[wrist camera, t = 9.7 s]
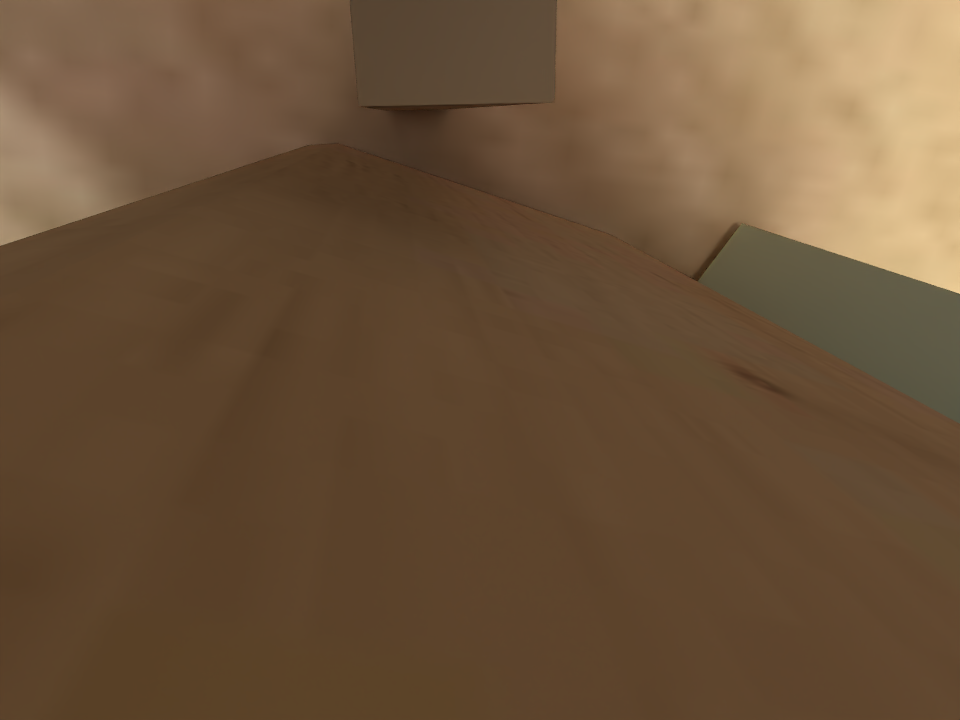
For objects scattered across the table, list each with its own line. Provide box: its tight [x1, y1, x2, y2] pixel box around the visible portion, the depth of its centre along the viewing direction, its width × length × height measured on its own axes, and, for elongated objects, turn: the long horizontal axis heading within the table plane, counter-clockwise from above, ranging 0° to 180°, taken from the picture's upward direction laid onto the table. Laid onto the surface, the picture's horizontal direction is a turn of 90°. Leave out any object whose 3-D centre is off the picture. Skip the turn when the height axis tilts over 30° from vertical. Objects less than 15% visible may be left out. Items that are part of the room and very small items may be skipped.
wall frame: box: [350, 0, 557, 110], centre depth 15 cm, size 34×2×15 cm, turn 1°
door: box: [697, 223, 960, 424], centre depth 16 cm, size 19×1×13 cm, turn 147°
